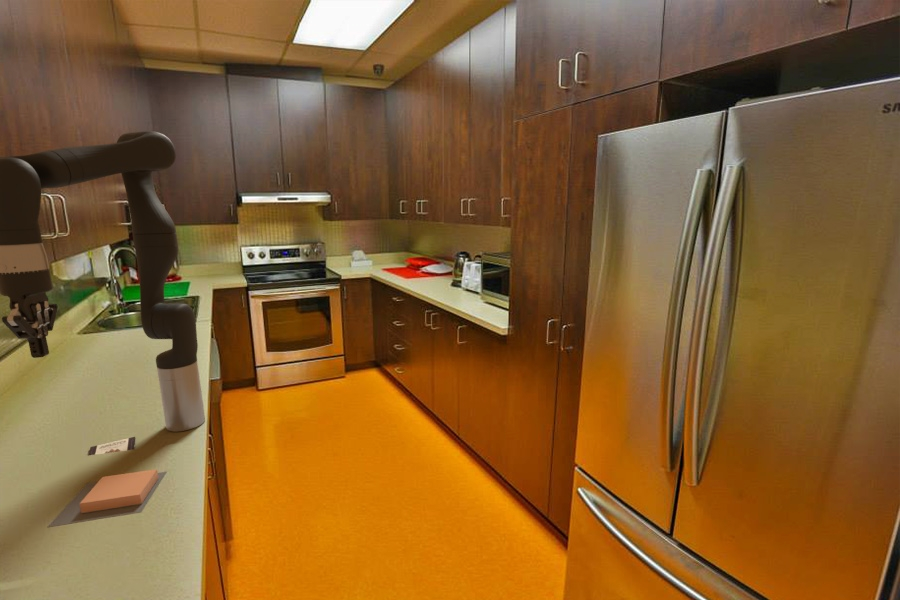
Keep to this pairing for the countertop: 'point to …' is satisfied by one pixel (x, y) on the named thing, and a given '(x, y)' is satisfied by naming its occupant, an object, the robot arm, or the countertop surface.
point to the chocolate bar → (113, 446)
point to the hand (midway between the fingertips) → (40, 356)
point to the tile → (119, 491)
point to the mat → (74, 511)
